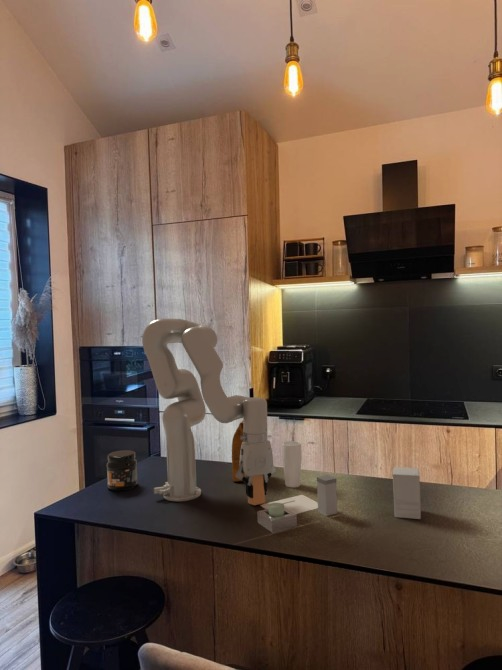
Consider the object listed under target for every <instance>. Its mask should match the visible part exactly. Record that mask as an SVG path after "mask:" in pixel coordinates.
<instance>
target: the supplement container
mask: <svg viewBox="0 0 502 670" xmlns="http://www.w3.org/2000/svg"><path fill="white" fill-rule="evenodd" d="M135 458H136V452H135V451H133V450H123V449H122V450H116V451H112V452H110V453H109V454H107V461H108V462H107V463H106V472H107V473H106V474H107V487H108V489H109V490H111V491H114V492H115V491H116V492H118V491H127V490H131V489H134V488H135V487H136V486H137V484H138V470H137V469H138V468H137V465H138V462H137V459H135Z"/></svg>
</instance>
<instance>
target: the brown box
mask: <svg viewBox="0 0 502 670" xmlns="http://www.w3.org/2000/svg"><path fill="white" fill-rule="evenodd" d="M252 485H253V498H250V497H248V496H247V503H248V504H249V505H252V506H257V505H262V504H266V495H265V492H264V480H263V475H258V476H253V477H252Z"/></svg>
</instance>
